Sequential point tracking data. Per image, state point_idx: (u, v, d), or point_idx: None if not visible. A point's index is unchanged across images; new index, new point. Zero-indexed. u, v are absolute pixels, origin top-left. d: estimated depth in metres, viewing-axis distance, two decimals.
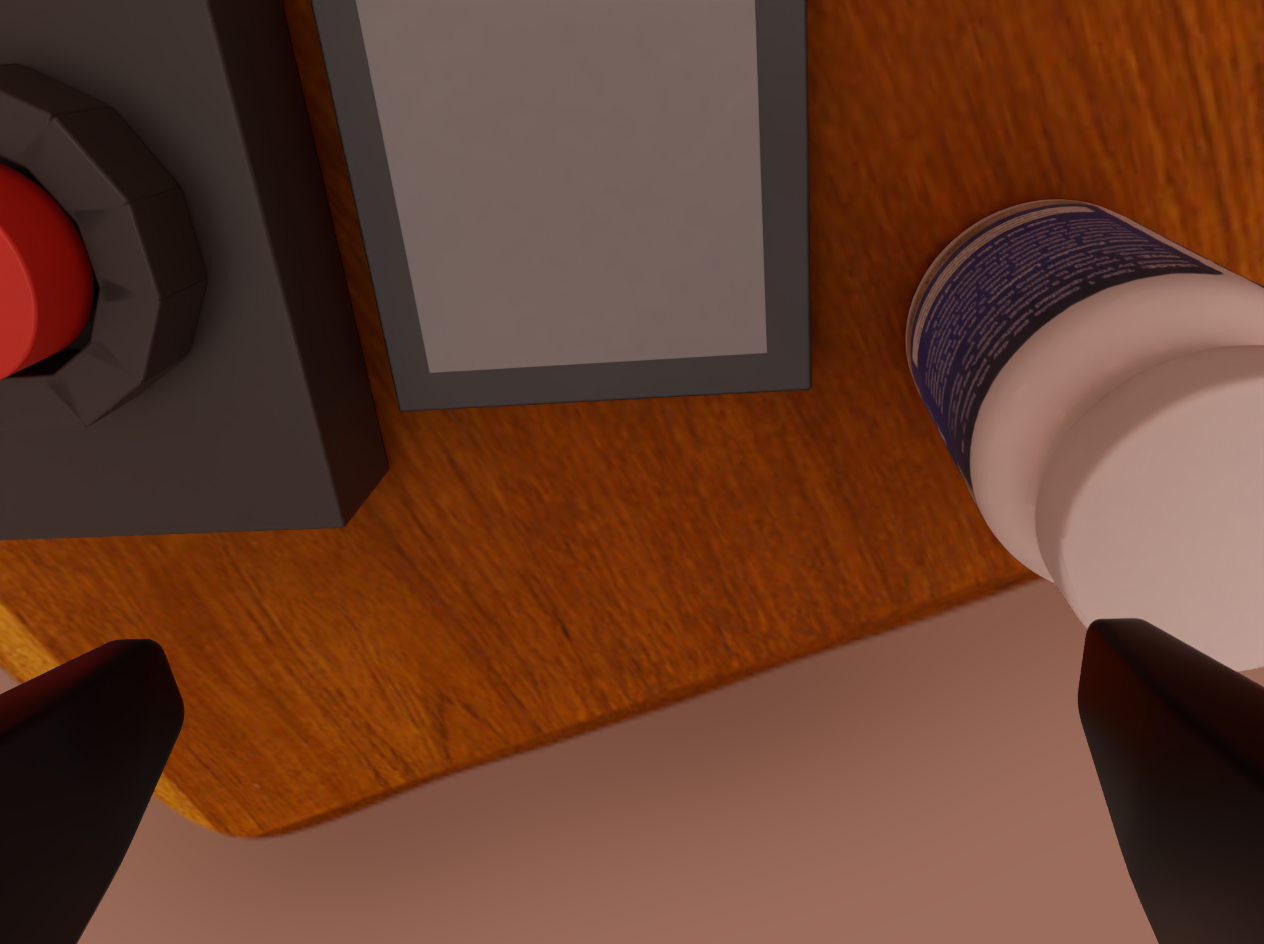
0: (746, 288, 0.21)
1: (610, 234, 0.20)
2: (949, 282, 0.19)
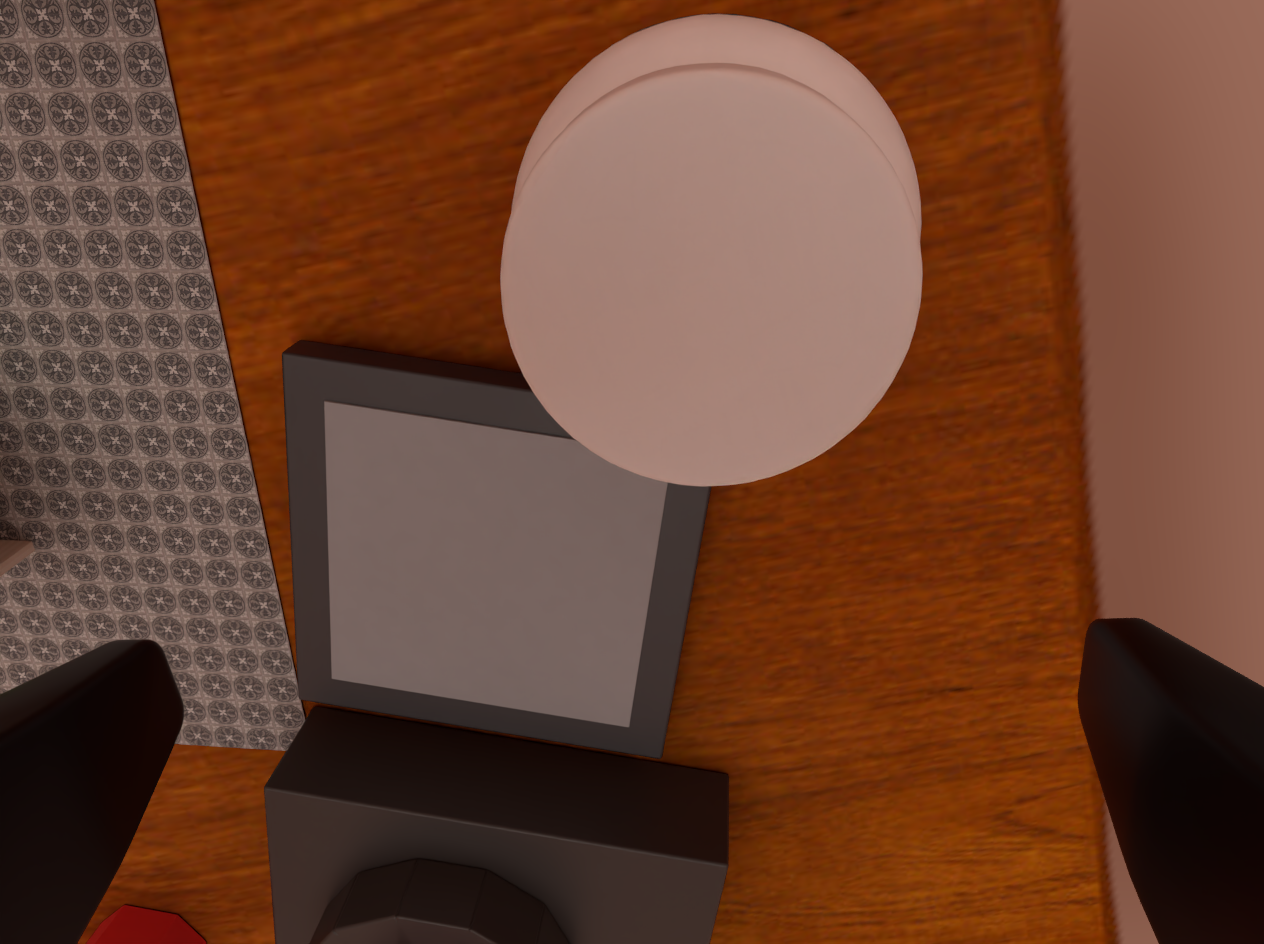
0: (604, 459, 0.21)
1: (534, 557, 0.22)
2: None
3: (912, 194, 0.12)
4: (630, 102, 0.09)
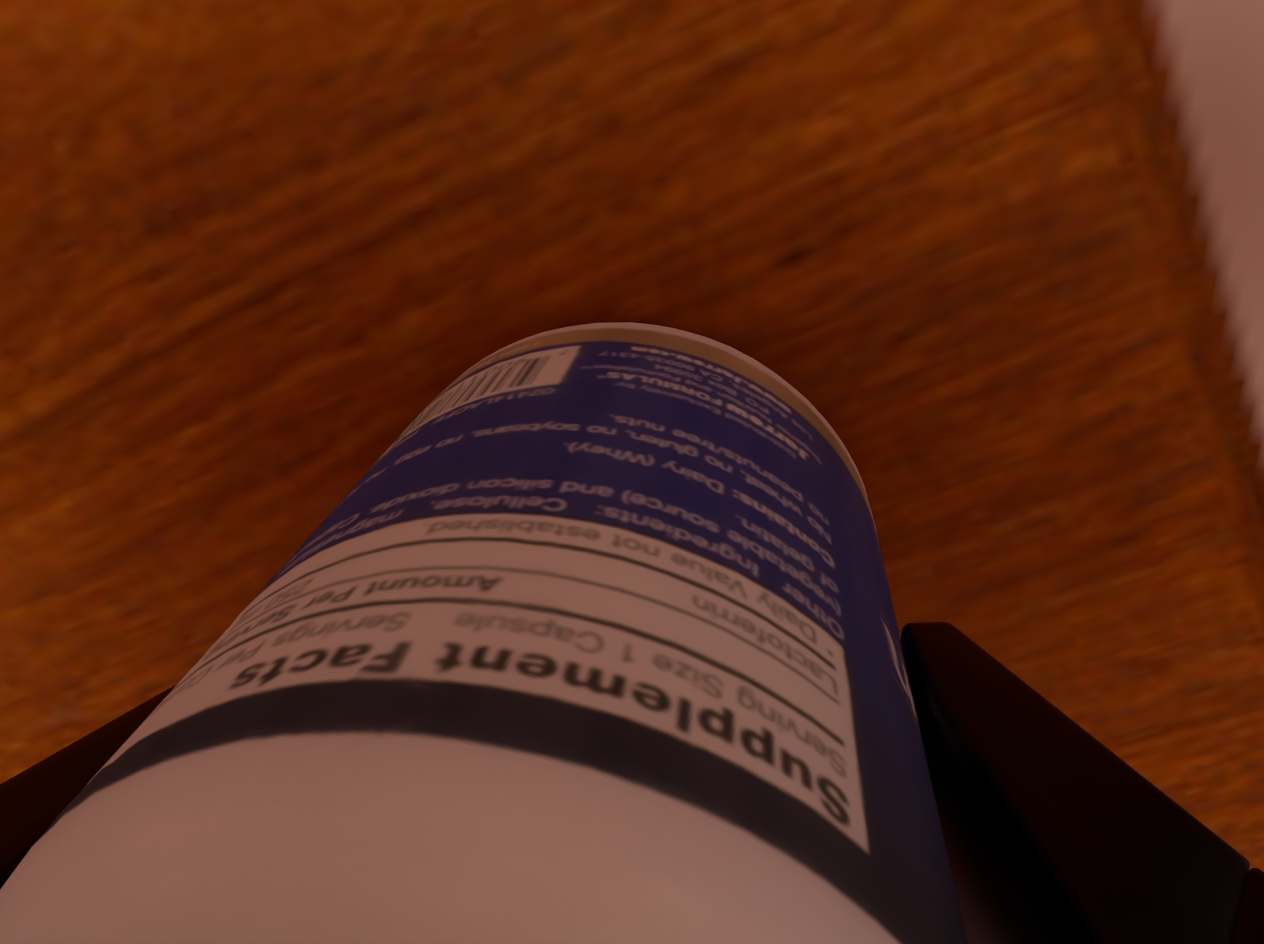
0: None
1: None
2: None
3: None
4: None
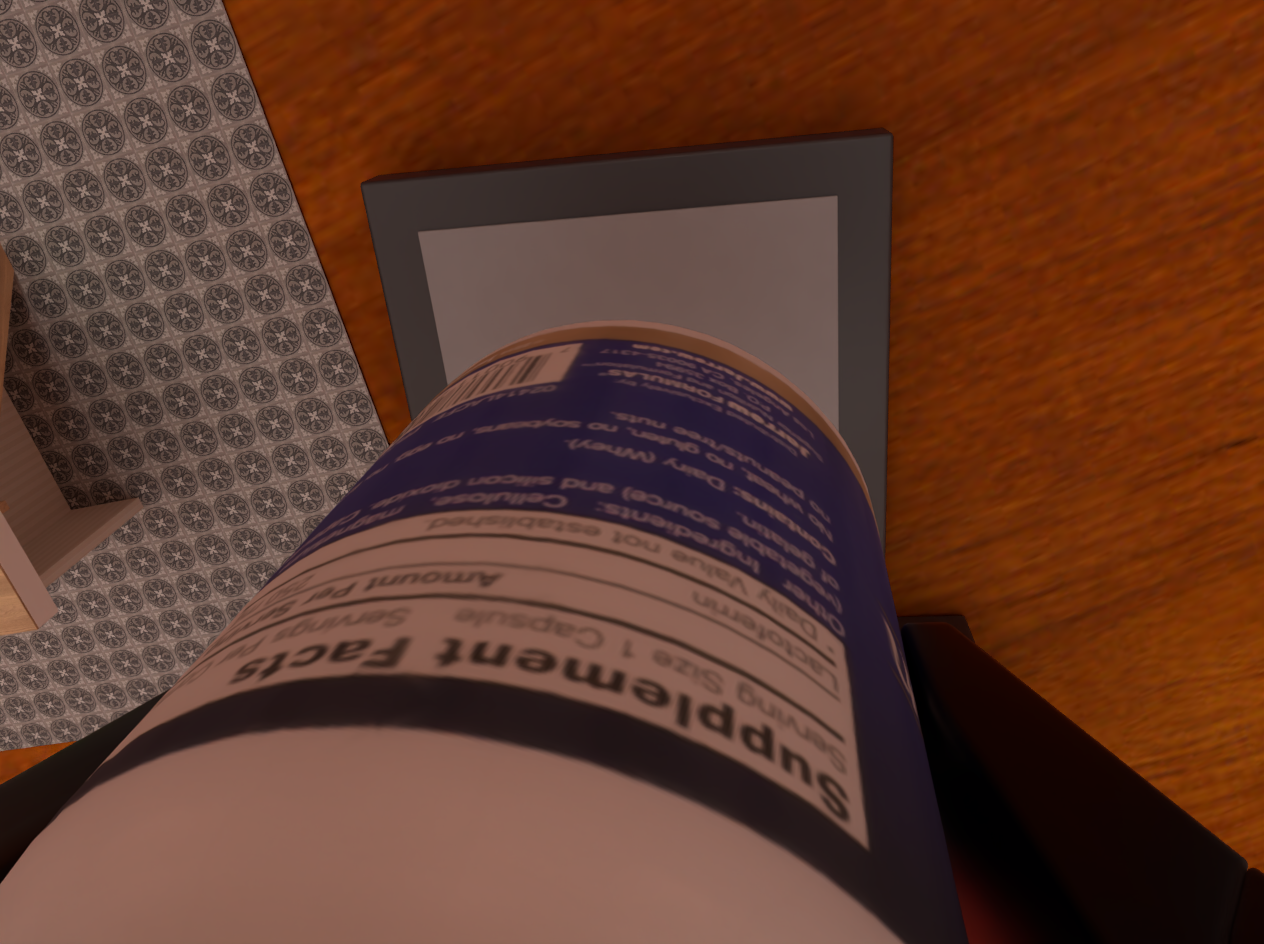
0: (755, 224, 0.17)
1: None
2: None
3: None
4: None
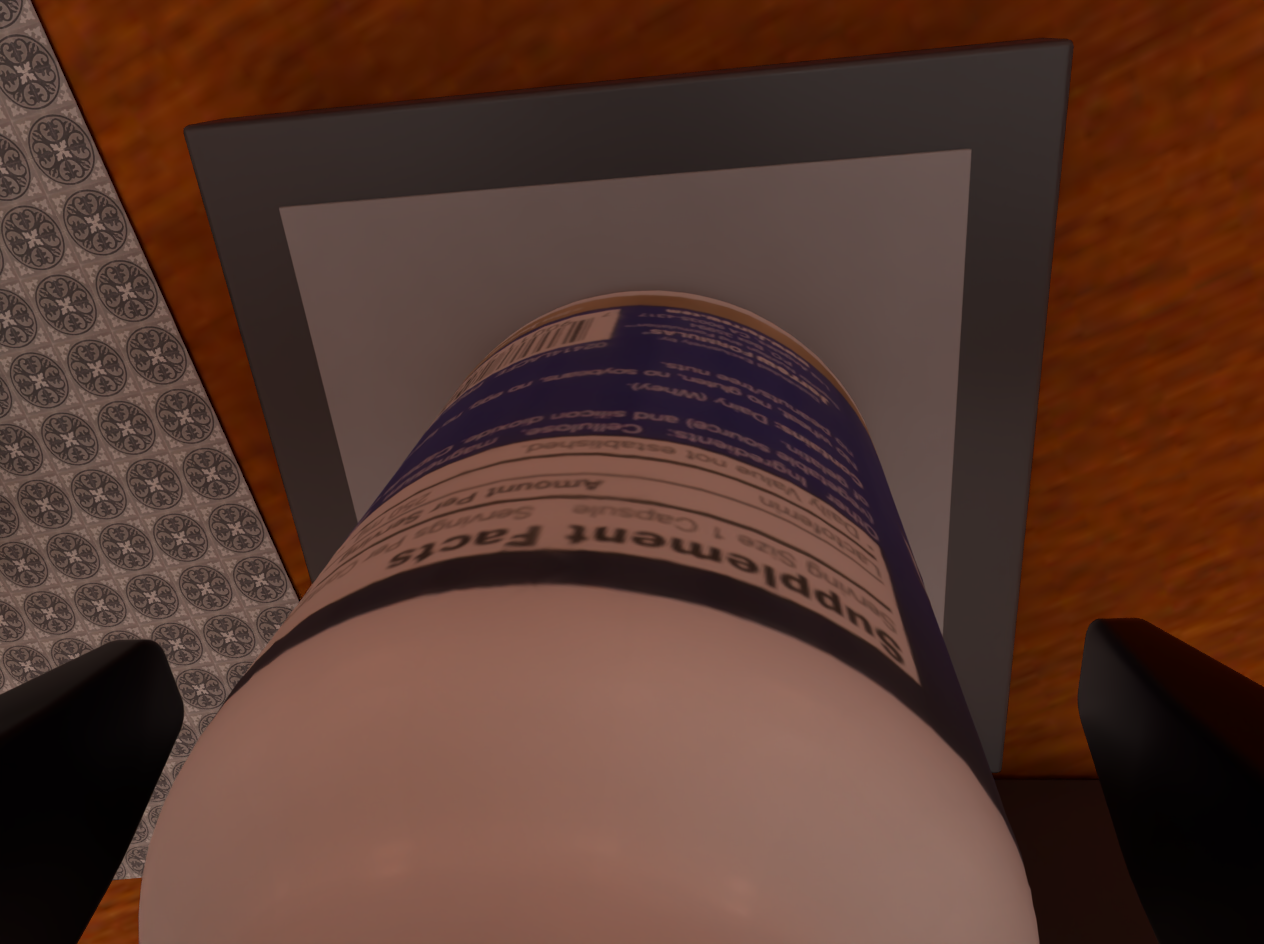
0: (829, 198, 0.10)
1: None
2: None
3: (1007, 927, 0.05)
4: None
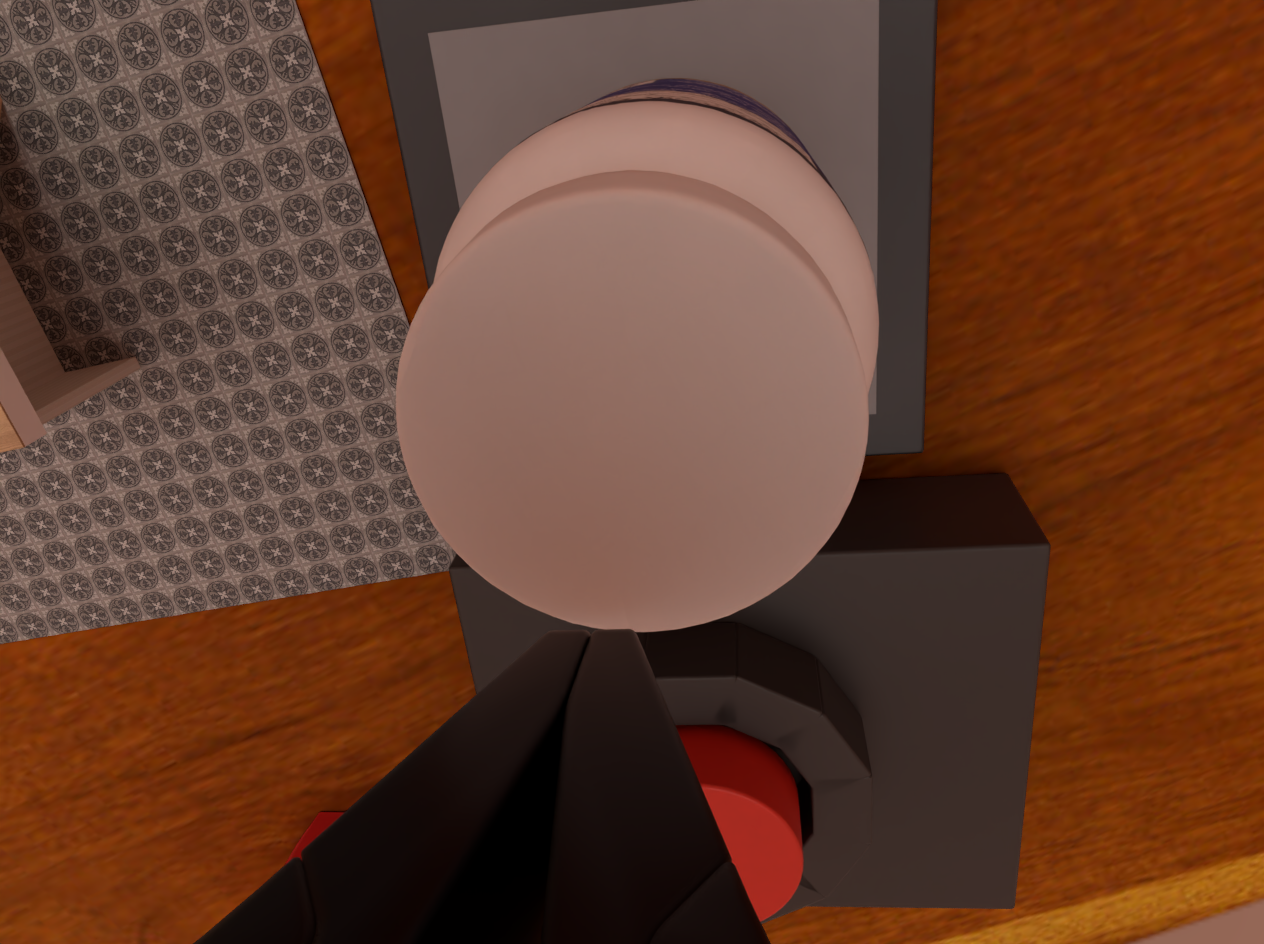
0: (790, 15, 0.16)
1: None
2: None
3: (850, 249, 0.10)
4: (483, 252, 0.08)
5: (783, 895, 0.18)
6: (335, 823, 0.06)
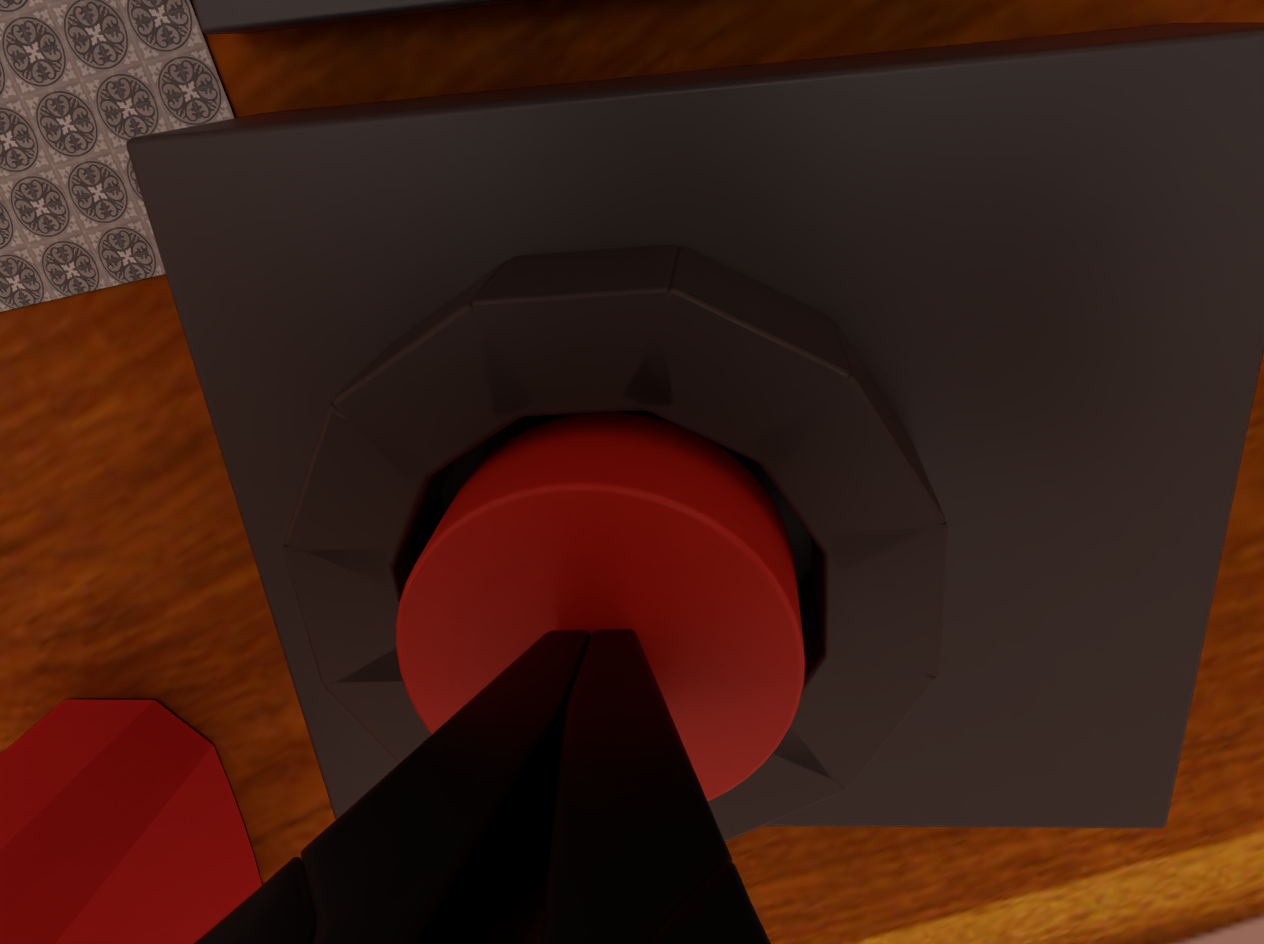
0: None
1: None
2: None
3: None
4: None
5: (763, 737, 0.09)
6: (335, 823, 0.06)
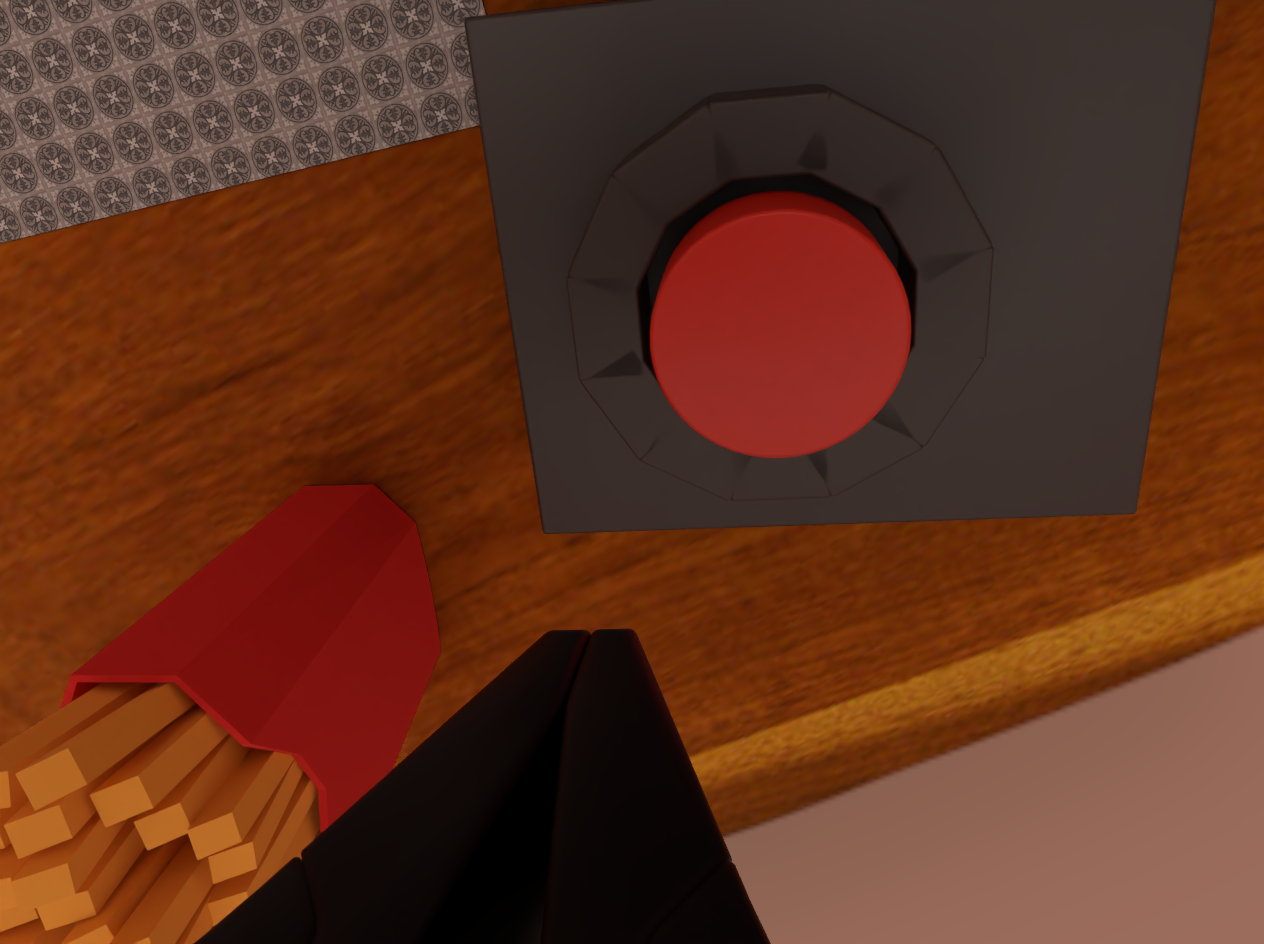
0: None
1: None
2: None
3: None
4: None
5: (882, 389, 0.14)
6: (335, 823, 0.06)
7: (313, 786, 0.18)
